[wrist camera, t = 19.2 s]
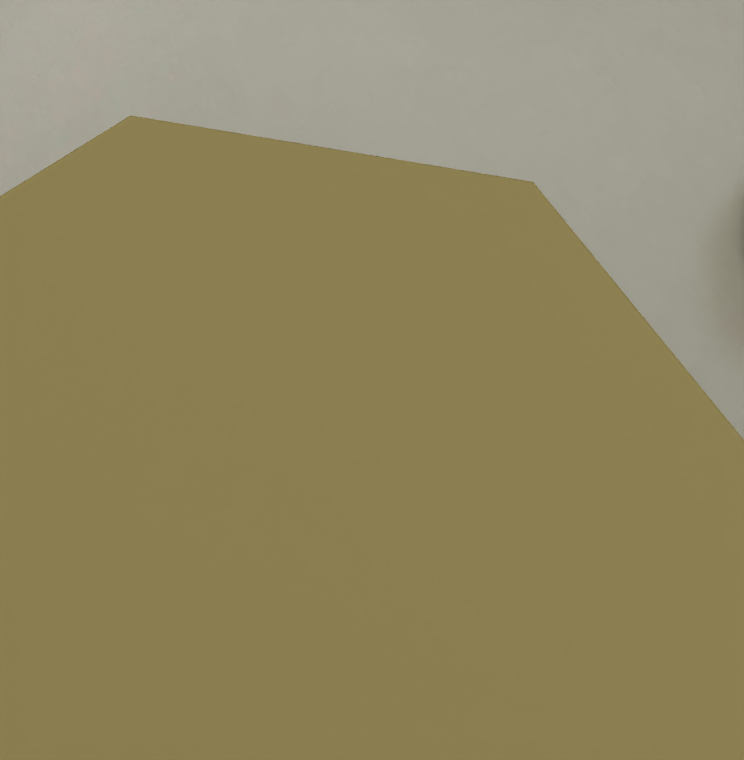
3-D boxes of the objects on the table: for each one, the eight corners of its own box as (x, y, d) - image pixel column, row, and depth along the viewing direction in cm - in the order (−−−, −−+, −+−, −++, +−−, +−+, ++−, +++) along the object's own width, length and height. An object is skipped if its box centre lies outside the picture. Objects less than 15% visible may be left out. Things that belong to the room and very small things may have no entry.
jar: (118, 410, 19) (-552, 211, 4) (394, 338, 20) (636, -8, 5) (188, 704, 18) (-364, 1832, 3) (472, 608, 19) (1028, 1085, 4)
